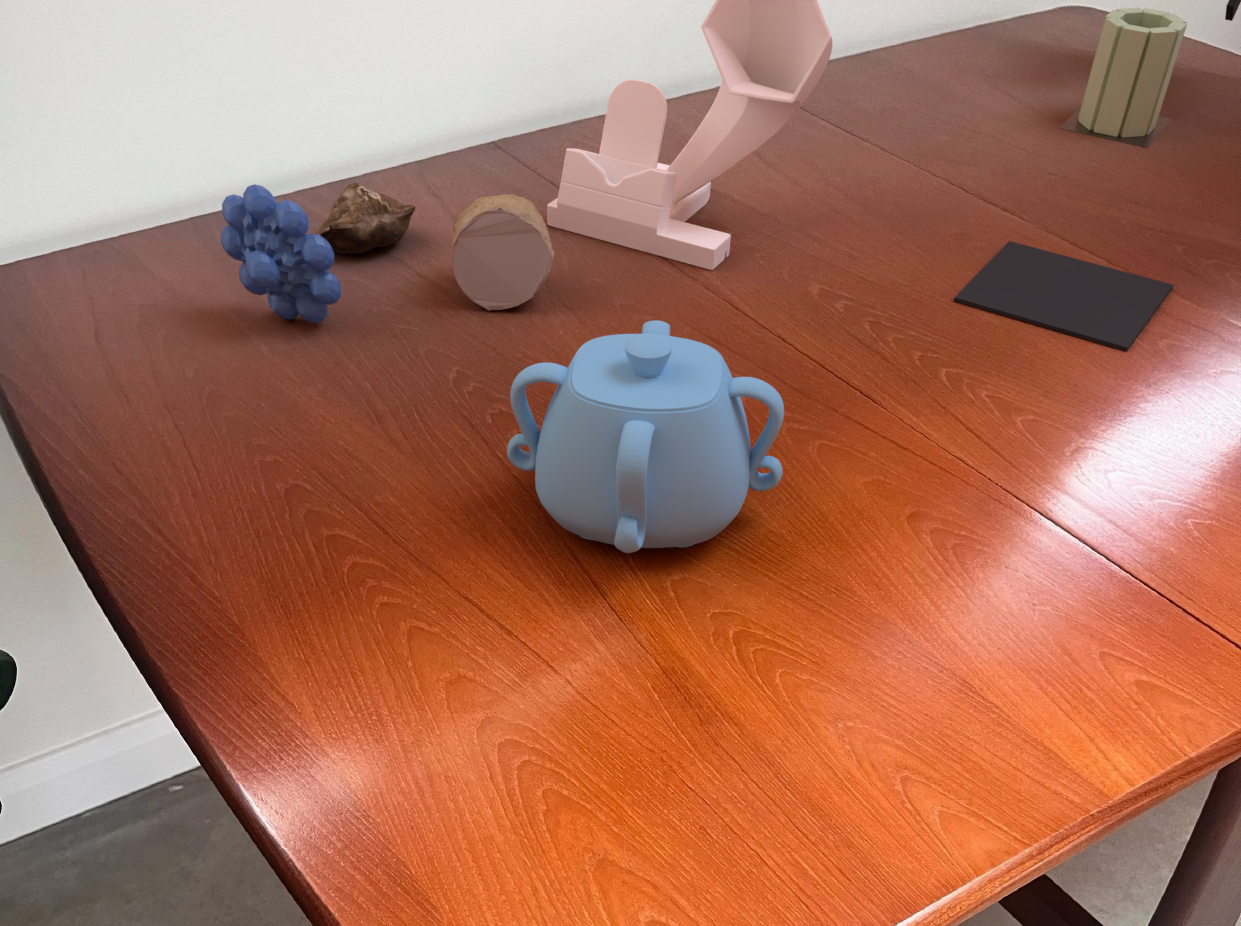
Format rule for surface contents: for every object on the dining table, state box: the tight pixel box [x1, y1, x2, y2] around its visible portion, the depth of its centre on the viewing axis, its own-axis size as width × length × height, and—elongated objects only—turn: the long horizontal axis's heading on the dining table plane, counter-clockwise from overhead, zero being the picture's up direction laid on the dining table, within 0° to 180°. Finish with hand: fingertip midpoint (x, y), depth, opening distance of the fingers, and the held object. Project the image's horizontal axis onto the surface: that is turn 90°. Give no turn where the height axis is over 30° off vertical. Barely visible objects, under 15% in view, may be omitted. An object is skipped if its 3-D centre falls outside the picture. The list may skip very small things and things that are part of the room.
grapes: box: [220, 184, 342, 324], centre depth 110 cm, size 12×7×12 cm, turn 66°
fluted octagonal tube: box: [1078, 7, 1188, 138], centre depth 141 cm, size 8×8×11 cm
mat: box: [953, 240, 1174, 352], centre depth 119 cm, size 16×14×1 cm
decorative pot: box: [506, 320, 785, 554], centre depth 90 cm, size 16×16×14 cm
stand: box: [1058, 106, 1174, 149], centre depth 143 cm, size 10×10×10 cm
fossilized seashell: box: [315, 182, 416, 255], centre depth 124 cm, size 8×7×10 cm
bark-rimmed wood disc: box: [451, 193, 555, 312], centre depth 115 cm, size 10×10×10 cm
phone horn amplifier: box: [546, 0, 834, 271], centre depth 121 cm, size 25×16×25 cm, turn 59°
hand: (1166, 2), depth 142 cm, fingers open, 13 cm apart
